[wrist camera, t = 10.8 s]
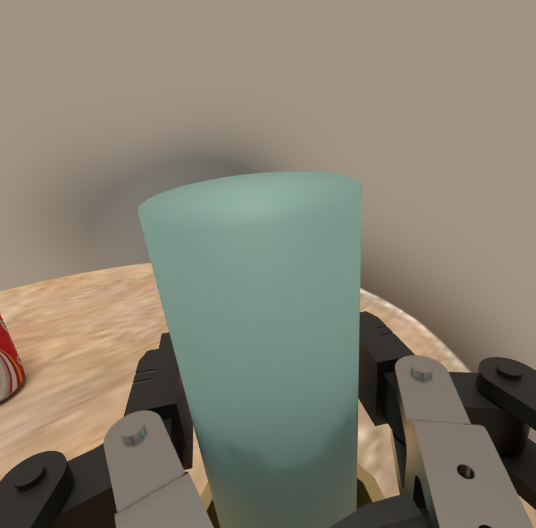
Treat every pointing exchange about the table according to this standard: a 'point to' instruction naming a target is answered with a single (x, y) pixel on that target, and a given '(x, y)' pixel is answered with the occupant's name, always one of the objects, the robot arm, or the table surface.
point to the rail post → (266, 338)
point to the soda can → (9, 364)
